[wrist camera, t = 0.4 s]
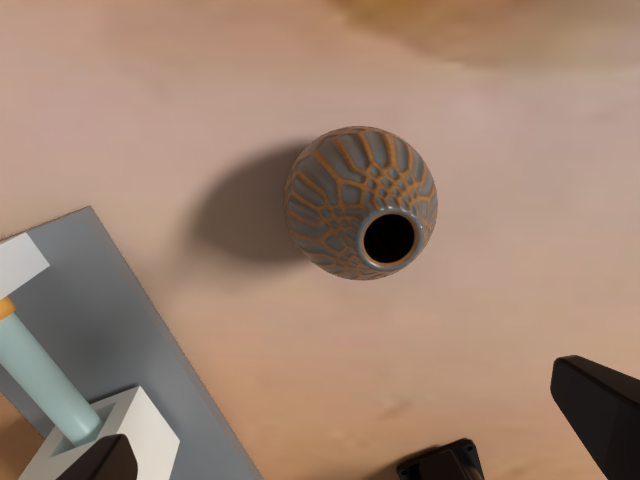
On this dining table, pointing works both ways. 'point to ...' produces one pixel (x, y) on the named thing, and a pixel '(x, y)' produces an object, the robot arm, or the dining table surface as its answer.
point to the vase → (360, 203)
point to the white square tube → (119, 417)
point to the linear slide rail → (99, 346)
